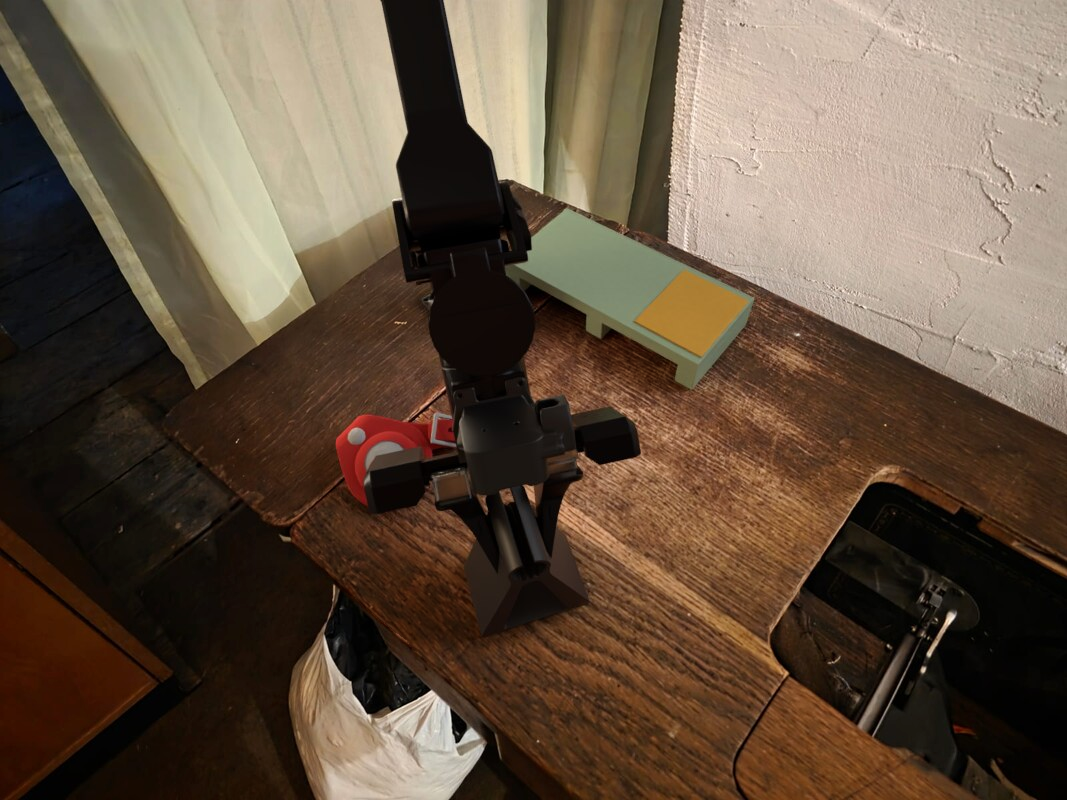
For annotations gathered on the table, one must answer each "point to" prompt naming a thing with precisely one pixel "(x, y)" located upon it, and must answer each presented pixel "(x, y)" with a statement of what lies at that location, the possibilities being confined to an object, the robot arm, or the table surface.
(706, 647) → the table surface
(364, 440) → the red tape measure
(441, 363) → the robot arm
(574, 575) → the phone stand
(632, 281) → the shoe shelf
